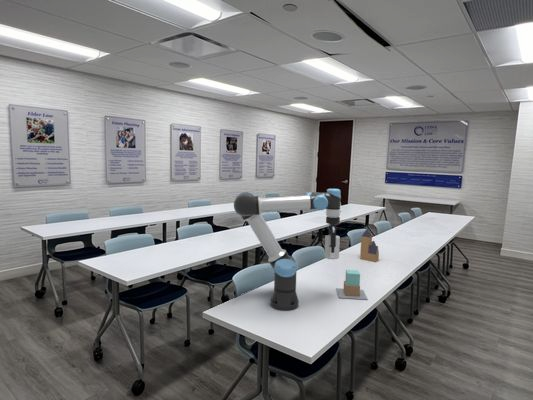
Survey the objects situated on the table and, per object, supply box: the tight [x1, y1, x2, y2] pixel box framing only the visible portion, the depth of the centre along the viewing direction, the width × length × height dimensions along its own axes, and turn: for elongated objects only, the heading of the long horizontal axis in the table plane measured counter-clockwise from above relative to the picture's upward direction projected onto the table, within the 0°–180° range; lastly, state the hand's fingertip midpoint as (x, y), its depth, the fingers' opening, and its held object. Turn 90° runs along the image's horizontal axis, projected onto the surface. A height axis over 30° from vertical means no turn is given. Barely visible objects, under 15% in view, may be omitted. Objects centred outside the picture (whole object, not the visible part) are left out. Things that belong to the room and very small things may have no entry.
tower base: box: [335, 280, 369, 301], centre depth 198 cm, size 16×14×7 cm
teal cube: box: [344, 269, 361, 287], centre depth 197 cm, size 7×7×7 cm
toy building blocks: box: [359, 228, 380, 263], centre depth 272 cm, size 12×19×25 cm
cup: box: [323, 234, 341, 260], centre depth 192 cm, size 8×8×12 cm
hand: (331, 255), depth 193 cm, fingers closed on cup, 8 cm apart
